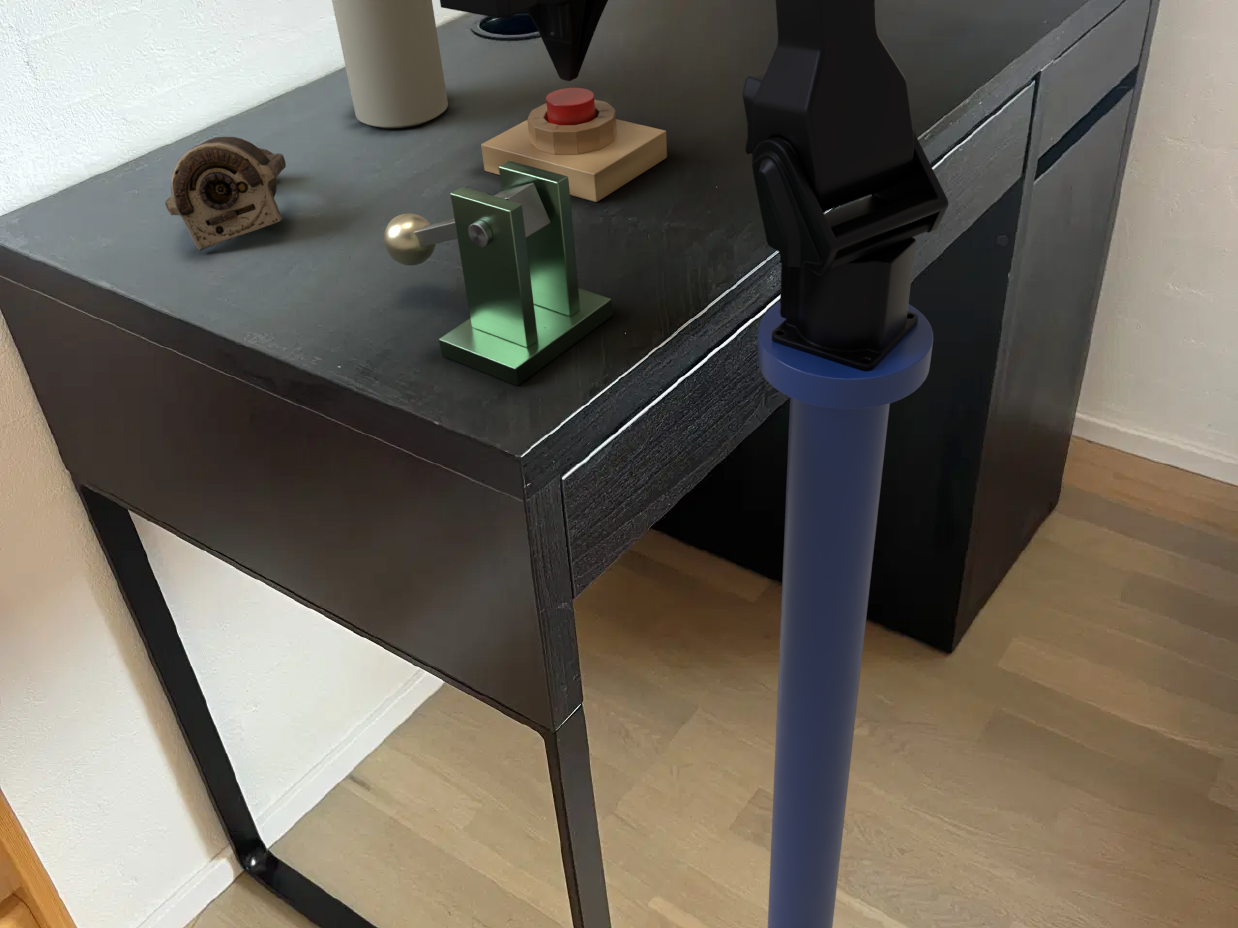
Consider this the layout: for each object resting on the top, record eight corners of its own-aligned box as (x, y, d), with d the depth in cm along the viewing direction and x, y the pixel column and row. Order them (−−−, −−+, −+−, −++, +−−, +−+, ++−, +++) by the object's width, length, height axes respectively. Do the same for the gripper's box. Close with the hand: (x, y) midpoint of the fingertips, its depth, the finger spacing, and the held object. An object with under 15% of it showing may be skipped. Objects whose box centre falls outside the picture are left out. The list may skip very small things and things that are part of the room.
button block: (667, 157, 88) (665, 107, 86) (596, 202, 83) (592, 150, 80) (557, 130, 94) (552, 82, 91) (484, 171, 88) (477, 121, 86)
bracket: (441, 356, 68) (413, 204, 62) (538, 290, 73) (521, 145, 67) (517, 386, 65) (496, 229, 59) (612, 315, 70) (601, 165, 64)
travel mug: (459, 119, 97) (424, -113, 86) (366, 138, 95) (318, -98, 84) (435, 89, 103) (400, -131, 92) (348, 106, 101) (301, -117, 90)
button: (605, 115, 86) (603, 92, 85) (575, 132, 84) (573, 109, 83) (568, 106, 88) (566, 84, 87) (538, 123, 86) (535, 100, 85)
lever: (388, 277, 72) (365, 229, 71) (423, 255, 74) (402, 209, 73) (522, 248, 63) (498, 194, 62) (559, 225, 65) (536, 172, 64)
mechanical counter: (103, 184, 77) (226, 157, 74) (186, 96, 86) (298, 69, 83) (161, 271, 82) (279, 250, 79) (234, 179, 91) (342, 156, 87)
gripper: (544, -190, 84) (563, 26, 94) (358, -138, 73) (401, 102, 82) (668, -182, 79) (674, 47, 88) (487, -124, 67) (517, 131, 77)
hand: (568, 79), depth 84 cm, fingers closed
